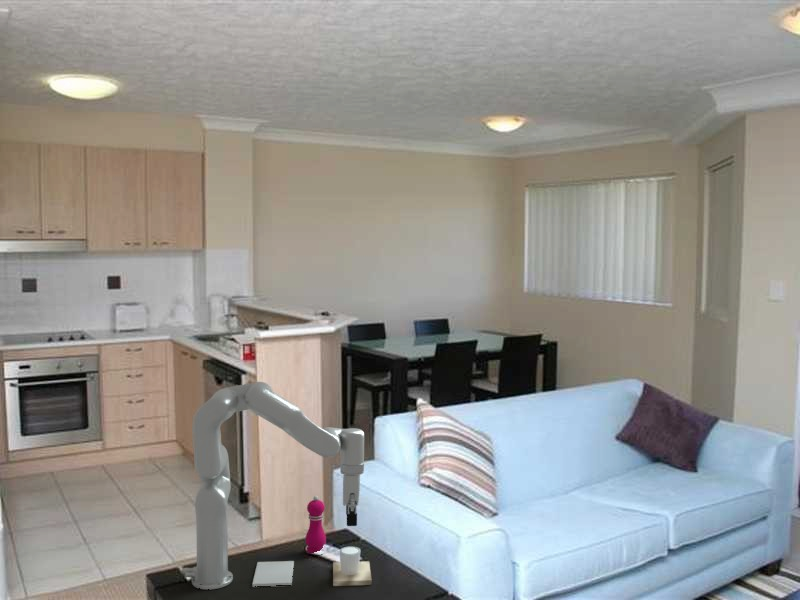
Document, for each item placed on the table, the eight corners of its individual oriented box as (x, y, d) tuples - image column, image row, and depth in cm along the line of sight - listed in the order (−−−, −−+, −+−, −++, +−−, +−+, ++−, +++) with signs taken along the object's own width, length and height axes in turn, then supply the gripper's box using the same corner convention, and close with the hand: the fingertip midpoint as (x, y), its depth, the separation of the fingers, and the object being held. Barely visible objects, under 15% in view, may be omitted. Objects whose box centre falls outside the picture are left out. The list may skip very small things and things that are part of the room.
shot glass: (357, 577, 229) (357, 555, 229) (336, 575, 230) (336, 553, 230) (362, 567, 236) (363, 547, 236) (342, 566, 237) (342, 545, 237)
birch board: (333, 586, 226) (333, 581, 226) (333, 566, 240) (333, 562, 240) (371, 584, 227) (371, 580, 227) (369, 565, 241) (369, 561, 241)
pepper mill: (330, 551, 253) (330, 495, 251) (317, 558, 246) (317, 500, 245) (314, 546, 256) (314, 491, 255) (300, 553, 250) (301, 496, 249)
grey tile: (252, 587, 225) (252, 583, 225) (257, 564, 241) (257, 562, 241) (291, 585, 226) (291, 582, 226) (294, 563, 242) (294, 561, 242)
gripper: (340, 460, 240) (339, 510, 241) (340, 476, 223) (339, 530, 224) (362, 459, 240) (361, 510, 242) (365, 475, 223) (364, 530, 224)
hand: (351, 520), depth 233 cm, fingers open, 9 cm apart
